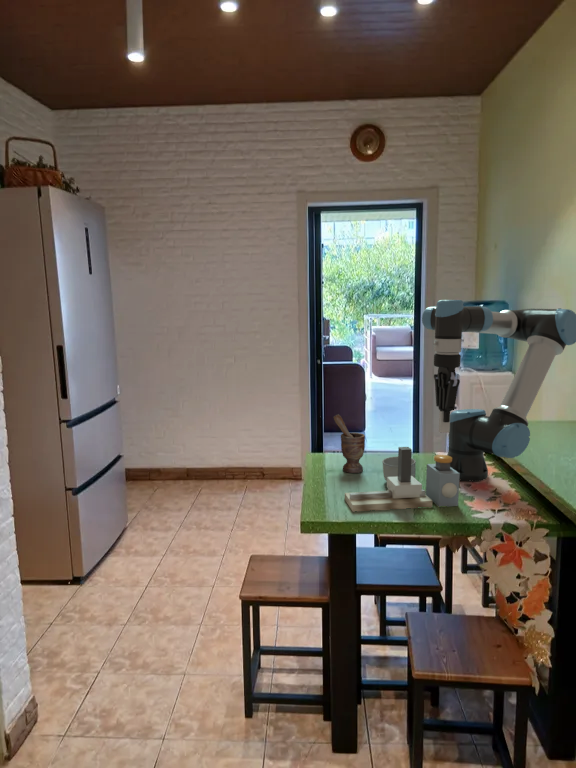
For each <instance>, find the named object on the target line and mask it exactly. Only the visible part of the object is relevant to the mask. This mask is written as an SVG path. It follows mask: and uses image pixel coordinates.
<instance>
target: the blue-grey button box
mask: <svg viewBox="0 0 576 768" xmlns="http://www.w3.org/2000/svg"><path fill="white" fill-rule="evenodd" d="M459 476H460V473H458V472H457V471H456V470H454V469H453V468H451V467H450V471H438V470H437V469H436V463H427V464H426V477H425V482H426V483H425V491H426V495H427V496H428V497H429V498H430V499H431V500H432V501H433V502H432V503H434V504H435V505H436V506H437V507H438V506H439V508H441V507H440V506H447V507H458V506H459V496H460V495H459V494H460V480H459Z"/></svg>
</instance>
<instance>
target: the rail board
mask: <svg viewBox="0 0 576 768" xmlns="http://www.w3.org/2000/svg"><path fill="white" fill-rule="evenodd" d="M344 501H345V502H346V503H347V506H348V507H349V508H350V510H351V511H352V512H353V513H354V512H355V511H357V512H369V511H370V510H371V511H372V510H375V511H391V510H390V509H393V510H407V509H406V508H411V509H419V508H418V507H429V508H433V503H434V502H433V501H432V500H431V499H430V498H429V497H428V496H427V495H426V489H423V488H422V494H420V497H412V498H393V497H392V491H388V490H375V491H357V492H355V491H354V492H344ZM371 511H370V512H371Z"/></svg>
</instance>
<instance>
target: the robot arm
mask: <svg viewBox="0 0 576 768" xmlns="http://www.w3.org/2000/svg"><path fill="white" fill-rule="evenodd" d="M421 321H422V322H421V323H422V325H423V326H424V328H425V329H427V330H432V331H434V341H433V347H434V348H433V349H434V352H435V353H434V354H433V366H434V367H436V368H437V369H438V370H437V374H436V373H435V374H433V379H434V390H435V406H436V407H437V408H438V410H439V414H438V415H439V416H438V433H441V434H442V433H443V434H444V433H447V434H448V449H447V450H448V451H447V456H450V457H452V462H451V463H450V467H451V468H453V469H454V470H456V471H457V472H458V473H460V476H459V482H460V481H461V482H481V481H485V480H487V479H488V476H489V470H488V467H487V462H486V459H485V455H484V452H485V453H488V454H492V455H495V456H496V457H499V458H507V459H513V458H517V457H519V456H521V455H522V454H523V453H524V452H525V451H526V449H527V448H528V447H529V443H530V441H531V438H530V436H531V430H530V428H529V427H528V426H529V421H528V420H527V416H528V414H529V413H530V410H531V408H532V406H533V404H534V401H535V400H536V397H537V395H538V393H539V391H540V389H541V387H542V386H543V385H542V384H543V382H544V380H545V379H546V376H547V374H548V372H549V371H550V368H551V366H552V363H553V362H554V359H555V357H556V356H558V355H561V354H562V353H563V352H564V350H565V348H566V346H572V345H574V344H576V312H574V311H573V310H572V309H568V308H567V309H566V308H524V309H523V308H522V309H513V310H512V309H511V310H510V309H504V310H501V311H500V312H499V311H492V310H491V309H490V308H489V307H486V306H481V305H480V306H479V305H477V306H464V302H463V300H462V299H440V300H438V301H437V302H436V304H435V305H434V306H428V307H426V308H425V309H424V310H423V311H422V315H421ZM463 333H475V334H491V335H493V334H494V335H497V336H498V337H500V338H503V339H504V338H507V339H513V340H518V341H522V342H526V343H527V344H528V348H527V350H526V352H525V354H524V355H523V358H522V361H521V362H520V364H519V366H518V368H517V370H516V373H515V375H514V377H513V379H512V380H511V383H510V385H509V386H508V389H507V391H506V393H505V395H504V397H503V399H502V401H501V403H500V405H499V406H498V407H495V408H492V411H491V413H490V415H489V416H488V415H487V413H486V410H485V409H482V408H481V409H480V408H467V409H465V408H464V409H456V410H455V408H456V407H455V406H456V402H457V395H458V389H459V385H460V382H461V381H460V380H461V379H457V378H456V375H457V373H456V368H460V367H461V359H462V358H461V357H462V356H461V354H460V353H462V344H463V343H462V338H463V337H462V336H463Z"/></svg>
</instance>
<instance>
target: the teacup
mask: <svg viewBox="0 0 576 768" xmlns="http://www.w3.org/2000/svg"><path fill="white" fill-rule="evenodd" d="M381 462H382V472H383V478H384V480H385V481H386V482H387V477H397V476H398V456H390V457H386V458H384V459H382V461H381ZM416 463H417V461H416V459H414V458H412V457H411V476H413V477H414V478H415V479H416V467H417V466H416Z"/></svg>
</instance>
